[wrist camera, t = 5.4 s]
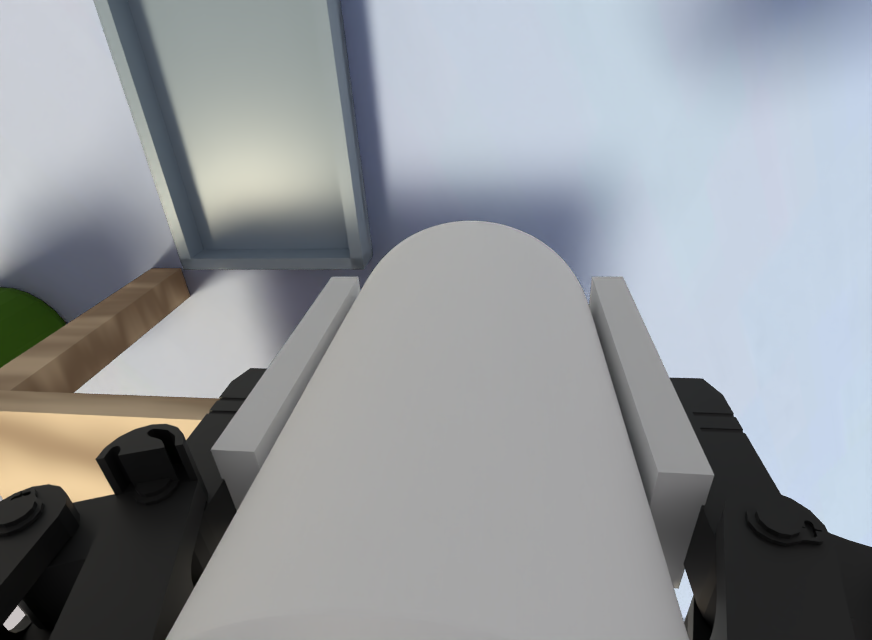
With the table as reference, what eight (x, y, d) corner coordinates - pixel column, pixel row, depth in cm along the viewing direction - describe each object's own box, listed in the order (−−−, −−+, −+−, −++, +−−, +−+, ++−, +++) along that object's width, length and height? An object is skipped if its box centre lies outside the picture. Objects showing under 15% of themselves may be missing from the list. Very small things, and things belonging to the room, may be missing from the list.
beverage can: (589, 393, 15) (767, 1182, 5) (392, 405, 16) (195, 1056, 6) (582, 191, 12) (1019, 1141, 2) (341, 224, 13) (-227, 904, 3)
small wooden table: (151, 268, 38) (-62, 408, 24) (436, 267, 35) (387, 428, 21) (216, 443, 47) (89, 621, 33) (448, 455, 44) (419, 657, 30)
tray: (110, -42, 28) (77, -49, 26) (332, -64, 26) (316, -73, 24) (202, 255, 37) (183, 269, 35) (372, 255, 35) (364, 269, 33)
